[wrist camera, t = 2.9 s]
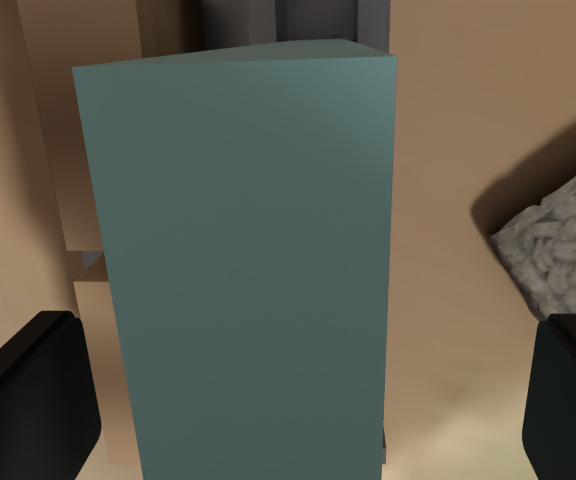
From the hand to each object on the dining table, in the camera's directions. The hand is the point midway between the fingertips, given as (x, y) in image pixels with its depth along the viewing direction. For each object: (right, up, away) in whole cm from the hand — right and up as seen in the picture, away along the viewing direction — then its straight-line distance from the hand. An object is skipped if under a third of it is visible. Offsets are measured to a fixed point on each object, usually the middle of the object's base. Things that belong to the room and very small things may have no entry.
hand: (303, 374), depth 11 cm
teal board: (+1, +5, +11) cm, 12 cm away
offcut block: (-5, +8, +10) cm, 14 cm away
